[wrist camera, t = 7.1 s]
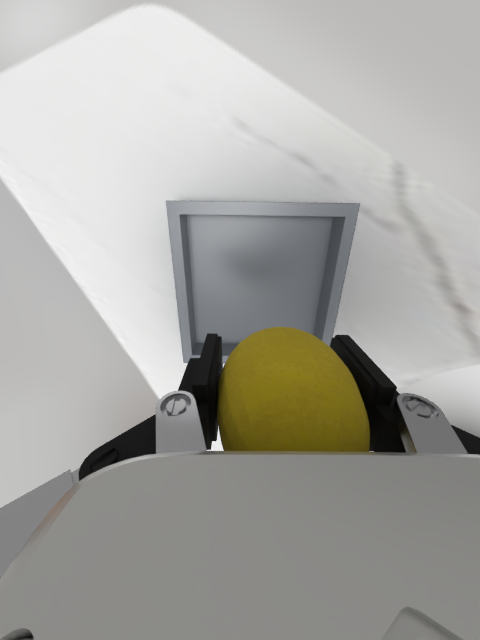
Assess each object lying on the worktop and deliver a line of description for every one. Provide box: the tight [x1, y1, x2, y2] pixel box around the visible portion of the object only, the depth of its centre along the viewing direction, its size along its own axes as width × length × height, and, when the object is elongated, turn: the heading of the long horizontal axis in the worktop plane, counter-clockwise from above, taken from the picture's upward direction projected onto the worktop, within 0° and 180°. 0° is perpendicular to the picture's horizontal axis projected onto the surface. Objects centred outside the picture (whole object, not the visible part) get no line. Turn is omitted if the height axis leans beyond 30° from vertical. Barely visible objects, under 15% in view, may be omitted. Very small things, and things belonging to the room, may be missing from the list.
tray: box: [166, 201, 360, 363], centre depth 23 cm, size 16×16×4 cm
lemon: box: [216, 327, 370, 452], centre depth 9 cm, size 6×6×8 cm
